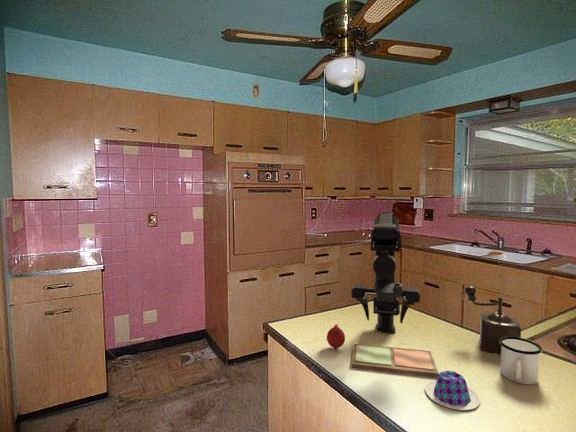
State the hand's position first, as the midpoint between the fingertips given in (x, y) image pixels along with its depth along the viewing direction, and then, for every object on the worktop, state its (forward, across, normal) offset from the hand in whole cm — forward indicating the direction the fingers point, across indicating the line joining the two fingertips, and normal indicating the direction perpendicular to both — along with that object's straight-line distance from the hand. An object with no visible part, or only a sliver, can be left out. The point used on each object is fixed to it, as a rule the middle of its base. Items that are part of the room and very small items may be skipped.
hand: (384, 321), depth 97 cm
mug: (+12, +34, -1) cm, 37 cm away
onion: (+12, -15, +4) cm, 20 cm away
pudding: (+13, +16, -13) cm, 24 cm away
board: (+12, +2, +1) cm, 12 cm away
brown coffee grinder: (+12, +33, +18) cm, 40 cm away
